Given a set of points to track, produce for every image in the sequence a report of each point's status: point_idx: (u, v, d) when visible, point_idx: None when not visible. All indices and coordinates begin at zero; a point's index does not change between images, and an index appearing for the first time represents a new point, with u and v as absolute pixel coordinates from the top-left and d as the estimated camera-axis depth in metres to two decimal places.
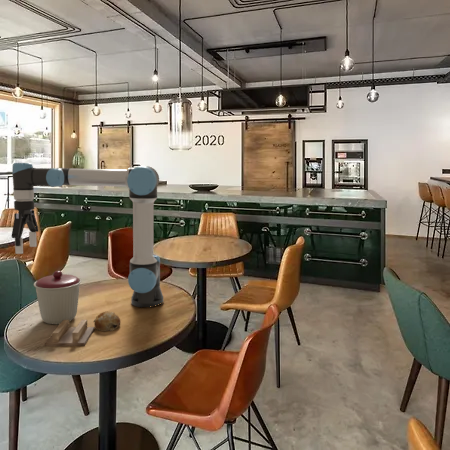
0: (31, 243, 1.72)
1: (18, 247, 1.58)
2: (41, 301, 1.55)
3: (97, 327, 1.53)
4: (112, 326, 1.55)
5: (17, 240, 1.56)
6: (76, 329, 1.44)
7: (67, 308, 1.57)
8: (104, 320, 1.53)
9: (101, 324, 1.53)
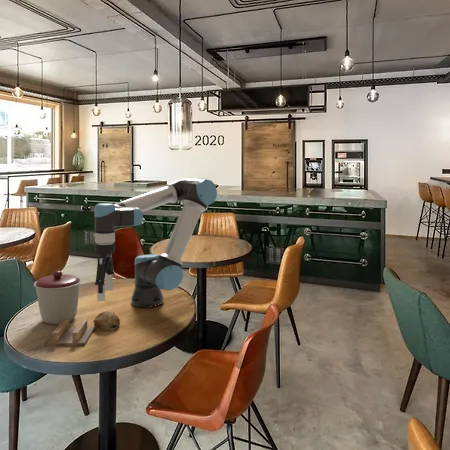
0: (107, 286, 1.62)
1: (100, 294, 1.48)
2: (41, 301, 1.55)
3: (97, 327, 1.54)
4: (112, 326, 1.55)
5: (100, 287, 1.47)
6: (76, 329, 1.44)
7: (67, 308, 1.57)
8: (103, 320, 1.53)
9: (101, 324, 1.53)
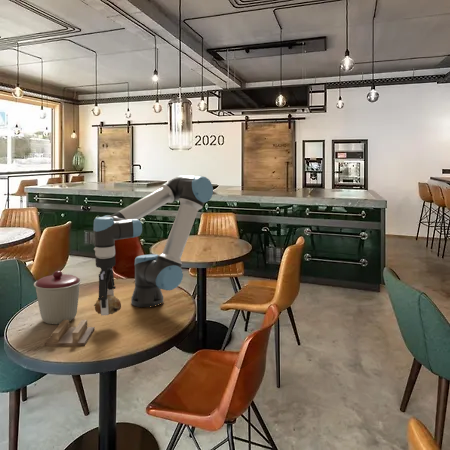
0: None
1: (104, 308, 1.51)
2: (41, 301, 1.55)
3: (98, 310, 1.53)
4: (113, 309, 1.54)
5: (103, 302, 1.50)
6: (76, 329, 1.44)
7: (67, 308, 1.57)
8: None
9: None
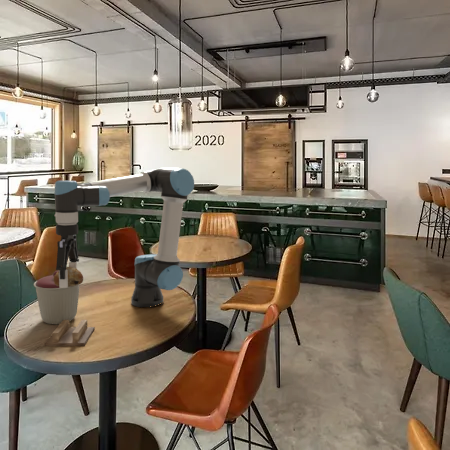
0: None
1: (62, 280, 1.38)
2: (41, 301, 1.55)
3: (56, 282, 1.39)
4: (73, 282, 1.41)
5: (62, 273, 1.36)
6: (76, 329, 1.44)
7: (67, 308, 1.57)
8: None
9: None
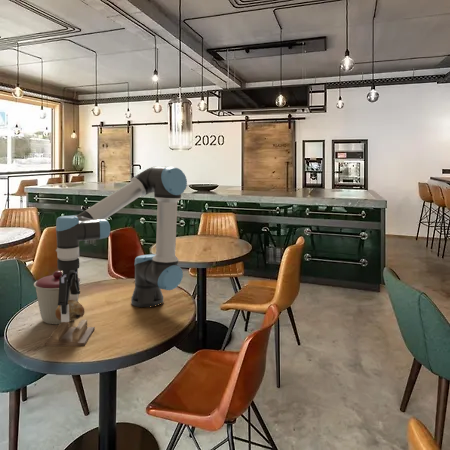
0: None
1: (64, 315, 1.40)
2: (41, 301, 1.55)
3: (58, 317, 1.42)
4: (74, 316, 1.43)
5: (64, 308, 1.38)
6: (76, 329, 1.44)
7: None
8: None
9: None
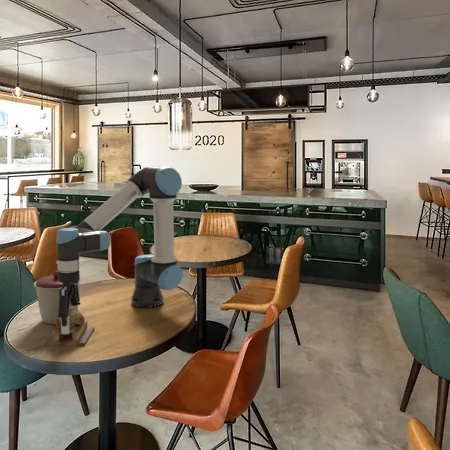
0: None
1: (64, 327, 1.41)
2: (41, 301, 1.55)
3: (58, 326, 1.42)
4: (75, 325, 1.43)
5: (64, 320, 1.39)
6: (76, 329, 1.44)
7: None
8: None
9: None
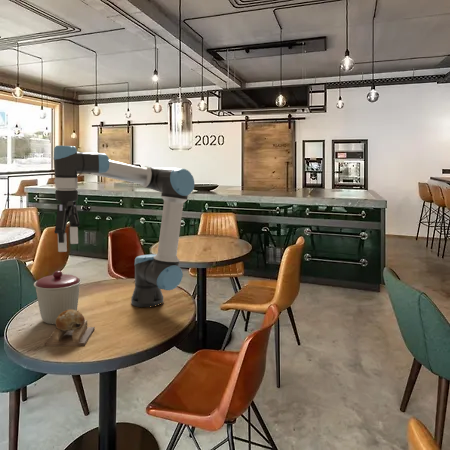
0: (72, 240, 1.49)
1: (61, 244, 1.35)
2: (41, 301, 1.55)
3: (58, 326, 1.42)
4: (75, 325, 1.43)
5: (61, 236, 1.34)
6: (76, 329, 1.44)
7: (67, 308, 1.57)
8: (65, 319, 1.42)
9: (63, 323, 1.41)
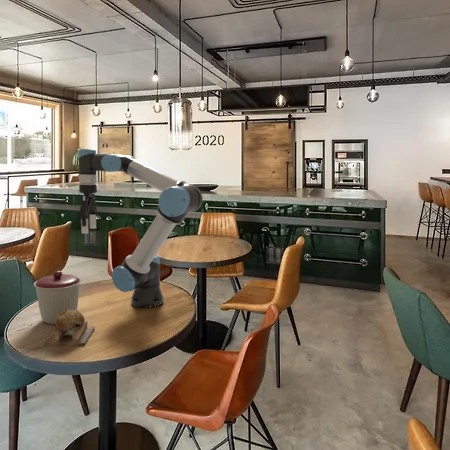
0: (91, 225, 1.83)
1: (84, 227, 1.70)
2: (41, 301, 1.55)
3: (58, 326, 1.42)
4: (75, 325, 1.43)
5: (84, 221, 1.68)
6: (76, 329, 1.44)
7: (67, 308, 1.57)
8: (65, 319, 1.42)
9: (63, 323, 1.41)
